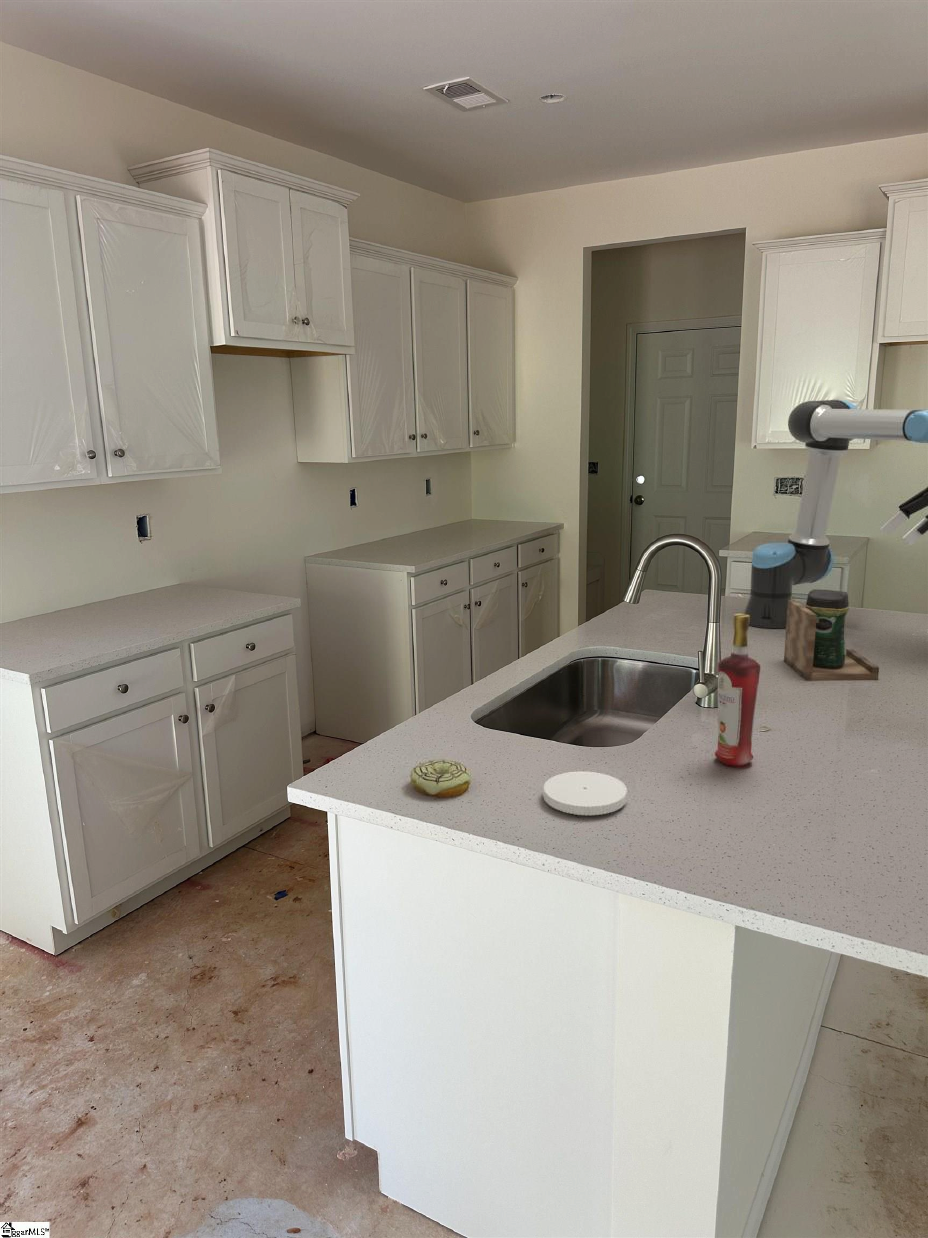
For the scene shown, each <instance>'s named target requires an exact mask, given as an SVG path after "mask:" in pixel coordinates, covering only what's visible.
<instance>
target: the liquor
mask: <svg viewBox="0 0 928 1238" xmlns="http://www.w3.org/2000/svg"><path fill="white" fill-rule="evenodd" d="M749 619H750V616H749V615H747V614H743V613H735V614H733V631H734V632H733V639H732V645H731V652H730V653H731V654H730V655H729V656H726V657H724V658H723V659H721V660H720V661H718V662H717V710H718V711H717V749H716V750H715V752H714V756H715V757H716V759H718V760H719V761H720V762H721V763H722V764H723V765H725V766H727V767H731V768H739V767H744V766H746V765H748V764H749V763H750V762H751V761H753V759H754V755H753V753H752V746H753V737H754V735H753V734H754V724H755V717H756V708H757V707H756V706H757V699H758V693H759V684H760V683H759V682H760V674H761V673H760V672H761V665H760V663H758V662H757V661H756V660H755V659H753V658H751V657H749V648H748V647H749V645H748V643H749V642H748V630H749V627H750V625H749Z"/></svg>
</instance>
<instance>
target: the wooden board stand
mask: <svg viewBox="0 0 928 1238" xmlns="http://www.w3.org/2000/svg"><path fill="white" fill-rule="evenodd" d="M816 618H817V615H816V614H815V613H813V612H812V611H810V610H809V609H807V608H806V606H804V605H802V604H801V603H799V602H798V601H796V599H792V600H788V608H787V623H786V628H785V638H784V639H785V640H784V651H783V653H784V654H783V656H784V658H783V661H784V663H785V664H786V665H787V666H789V667H790V668H791V669H792V670H793V671H795V672H796V674H797V675H799V677H801V678H802V679H803V680H804V681H865V680H867V681H870V680H871V681H873V680H875V681H877V680H879V673H880V667H879V666H878V665H876V664H874V663H873V662H872V661H870V659H868V658H866V657H864V656H863V655H862V654H860V653H859V652H857V651H856V650H855V649H853V648H845V662H844V664H843V666H841V667H837V668H825V667H816V666H813V657H814V644H815V631H816Z"/></svg>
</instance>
